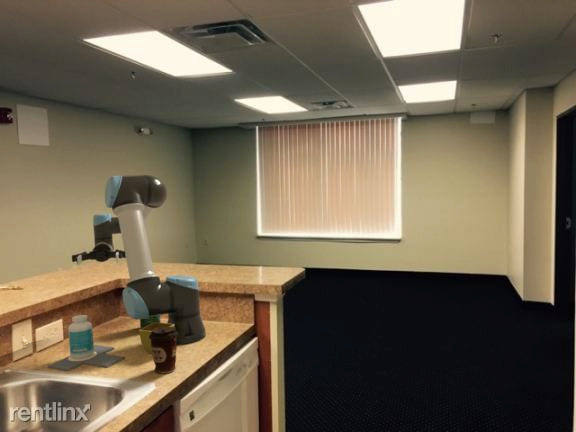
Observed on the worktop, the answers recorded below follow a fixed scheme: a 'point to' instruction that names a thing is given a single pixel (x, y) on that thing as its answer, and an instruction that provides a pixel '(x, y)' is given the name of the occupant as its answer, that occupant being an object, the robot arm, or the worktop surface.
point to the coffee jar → (149, 321)
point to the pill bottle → (81, 337)
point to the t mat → (89, 359)
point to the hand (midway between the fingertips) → (98, 259)
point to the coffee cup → (164, 348)
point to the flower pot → (147, 331)
